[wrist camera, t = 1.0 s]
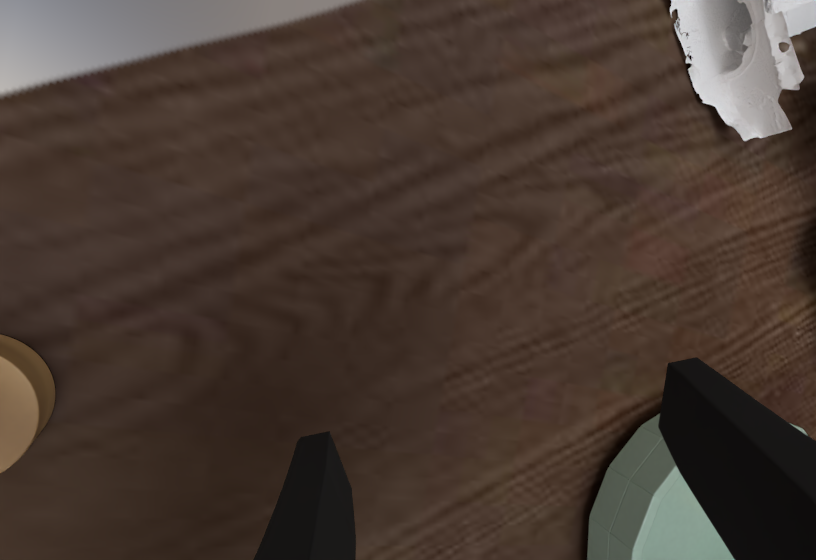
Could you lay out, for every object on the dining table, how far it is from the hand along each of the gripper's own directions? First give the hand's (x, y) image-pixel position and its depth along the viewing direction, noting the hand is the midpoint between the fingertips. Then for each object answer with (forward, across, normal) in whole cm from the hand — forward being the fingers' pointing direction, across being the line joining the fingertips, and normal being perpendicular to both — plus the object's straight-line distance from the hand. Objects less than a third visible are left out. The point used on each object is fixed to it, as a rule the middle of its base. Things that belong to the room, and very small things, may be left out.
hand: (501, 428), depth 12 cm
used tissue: (+21, -21, 0) cm, 30 cm away
